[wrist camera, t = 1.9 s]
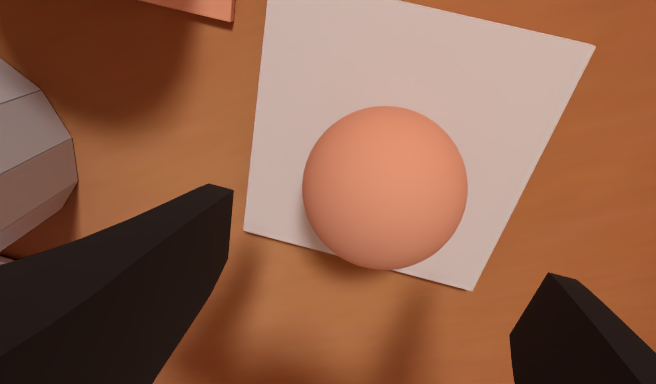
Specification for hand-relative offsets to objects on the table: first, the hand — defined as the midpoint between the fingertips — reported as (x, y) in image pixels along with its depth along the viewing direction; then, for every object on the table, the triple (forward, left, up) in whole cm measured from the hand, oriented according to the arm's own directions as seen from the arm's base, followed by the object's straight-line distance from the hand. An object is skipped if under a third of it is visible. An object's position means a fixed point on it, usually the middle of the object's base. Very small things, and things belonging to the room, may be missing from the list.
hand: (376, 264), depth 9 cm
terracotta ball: (0, 0, -4) cm, 4 cm away
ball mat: (0, 0, -7) cm, 7 cm away
